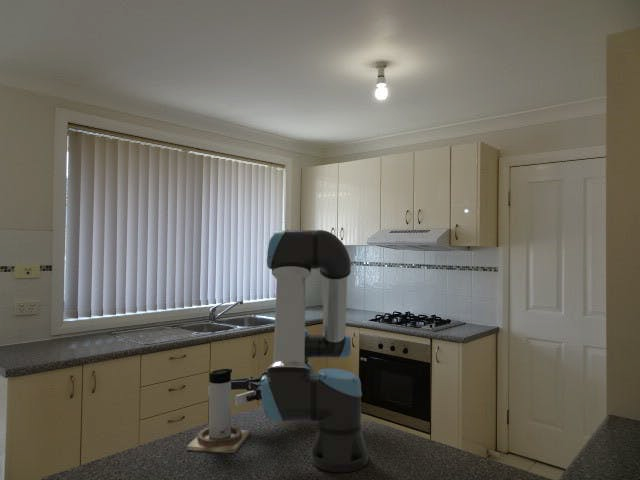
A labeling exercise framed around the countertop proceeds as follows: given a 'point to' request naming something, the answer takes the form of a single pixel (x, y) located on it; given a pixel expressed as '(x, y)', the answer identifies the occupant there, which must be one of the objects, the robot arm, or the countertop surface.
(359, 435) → the robot arm
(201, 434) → the mug stand
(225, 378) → the travel mug
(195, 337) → the countertop surface
